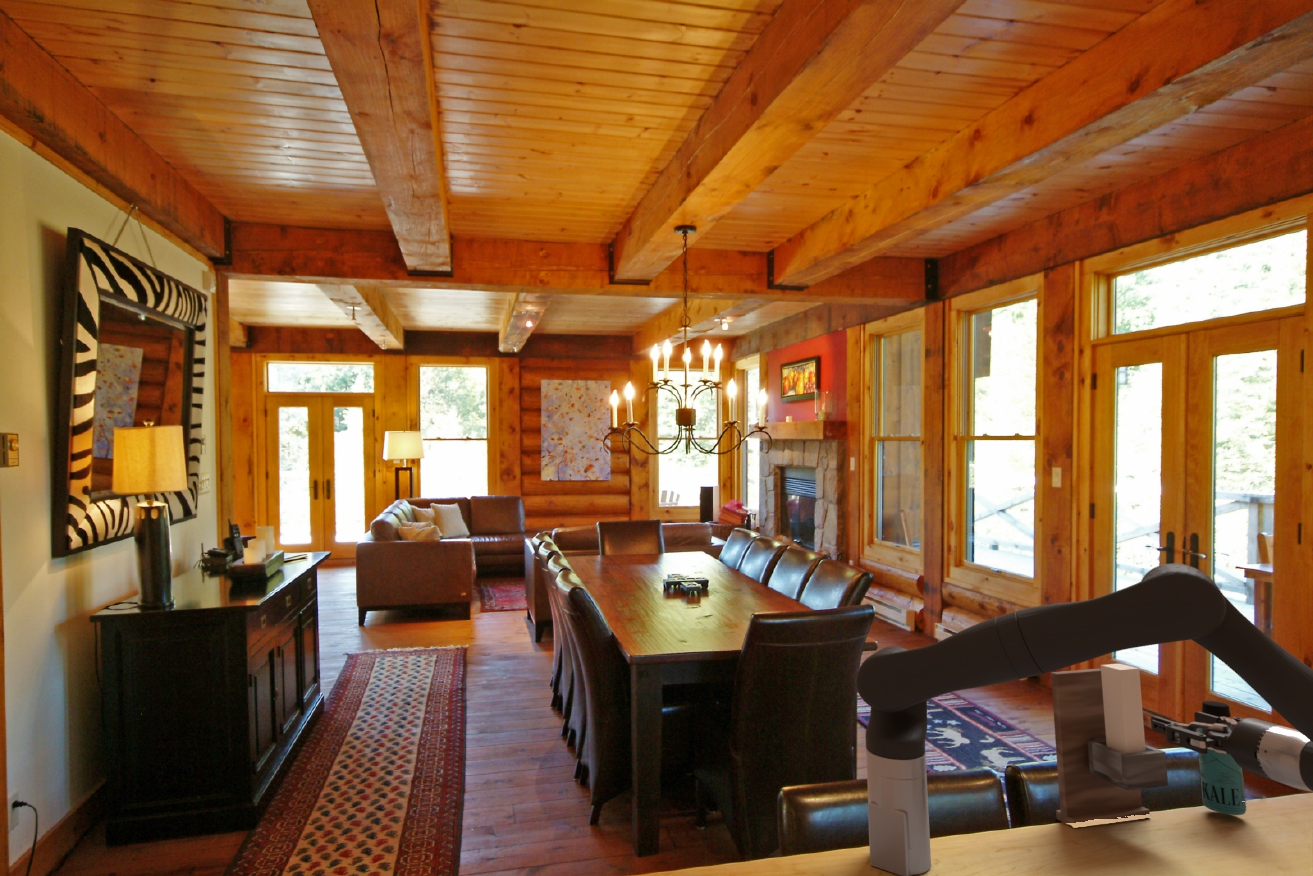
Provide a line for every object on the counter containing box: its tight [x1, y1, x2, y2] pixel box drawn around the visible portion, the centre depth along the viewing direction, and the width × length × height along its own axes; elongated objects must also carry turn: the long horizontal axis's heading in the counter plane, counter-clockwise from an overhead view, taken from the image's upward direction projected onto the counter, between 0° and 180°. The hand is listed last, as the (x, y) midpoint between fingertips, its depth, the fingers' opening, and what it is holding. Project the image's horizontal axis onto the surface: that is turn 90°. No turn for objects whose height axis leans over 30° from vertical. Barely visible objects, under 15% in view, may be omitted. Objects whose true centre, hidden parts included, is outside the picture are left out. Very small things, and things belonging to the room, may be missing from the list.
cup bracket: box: [1050, 667, 1169, 824], centre depth 125 cm, size 12×16×26 cm
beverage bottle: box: [1197, 700, 1247, 816], centre depth 128 cm, size 6×7×20 cm
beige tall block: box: [1100, 663, 1146, 754], centre depth 123 cm, size 4×4×18 cm
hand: (1174, 720), depth 114 cm, fingers open, 8 cm apart
